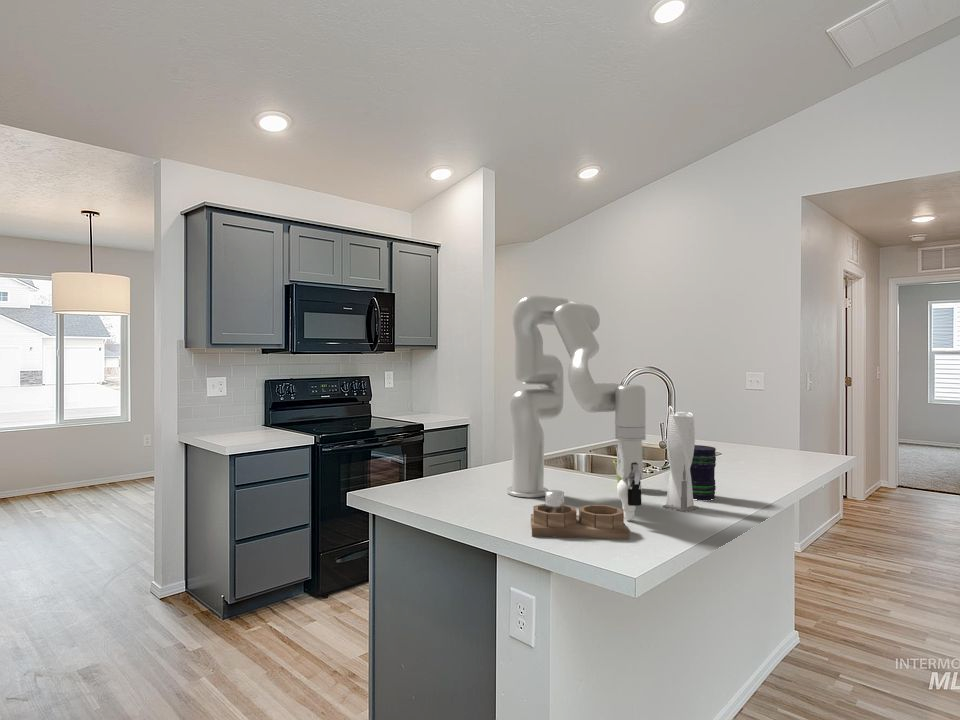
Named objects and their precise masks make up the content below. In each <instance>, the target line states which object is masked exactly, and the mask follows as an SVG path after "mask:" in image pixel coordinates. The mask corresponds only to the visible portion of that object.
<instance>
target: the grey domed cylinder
mask: <svg viewBox="0 0 960 720" xmlns="http://www.w3.org/2000/svg"><path fill="white" fill-rule="evenodd" d="M544 504H545V512H547V513H564V505H565V492H564V491H562V490H560V489H559V490H558V489H548V491H546V496H545V503H544Z"/></svg>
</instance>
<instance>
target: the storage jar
mask: <svg viewBox="0 0 960 720" xmlns="http://www.w3.org/2000/svg"><path fill="white" fill-rule="evenodd" d="M716 450H717V449H716V447H714V446H709V445H700V444H699V445H698V444H697V445H696V444H695V445H694V454H693V459H692V463H691V467H690V474H691V481H692V491H693V499H697V500H696V501H698V500H711V499H714V498H715V499H716V496H715V494H716V489H717V487H716V480H715V479H716V478H715V475H716V474H715V473H716V472H715V470H716V469H715V467H716V464H717V463H716V461H717V456H716V455H717V454H716ZM715 499H714V500H715ZM711 501H712V500H711Z"/></svg>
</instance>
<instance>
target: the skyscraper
mask: <svg viewBox="0 0 960 720" xmlns="http://www.w3.org/2000/svg"><path fill="white" fill-rule="evenodd" d="M671 412H672V414H671ZM667 420H668V421H667V428H666V450H667V458H668V464H669V469H670V471H669V477H668V485H667V486H668V487H667V492H666V493H667V494H666V504H663V505H662V508H664V507H667V508H666V509H669V508H671V509H670V510H673V509H676V510H675V511H678V510H680V511H679V512H682V511H685V512H684V513H687V512H686V511H688V512H690V511H689V510H691V511H694V510H693V509H695V510H697V509H696V508H698V509H699V508H700V506H697V505H694V500H693V491H692V481H691V474H690V467H691V463H692V459H693V454H694V445H696V444H695V443H696V442H695V441H696V440H695V439H696V437H695V436H696V431H695V417H694V414H693V413H692V412H691V411H689V412H685V411H676V412H675V410H674V408H673V406H671V405H669V406H668V419H667Z"/></svg>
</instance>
